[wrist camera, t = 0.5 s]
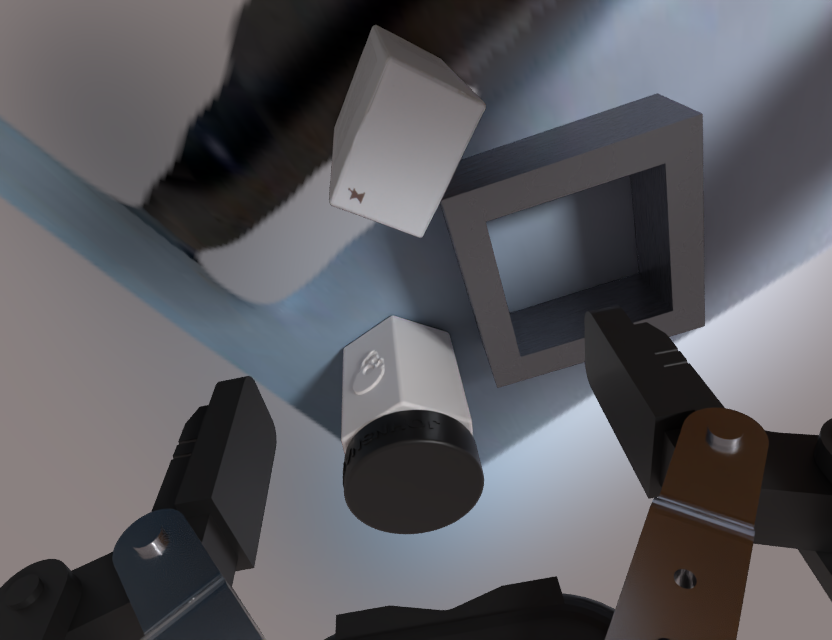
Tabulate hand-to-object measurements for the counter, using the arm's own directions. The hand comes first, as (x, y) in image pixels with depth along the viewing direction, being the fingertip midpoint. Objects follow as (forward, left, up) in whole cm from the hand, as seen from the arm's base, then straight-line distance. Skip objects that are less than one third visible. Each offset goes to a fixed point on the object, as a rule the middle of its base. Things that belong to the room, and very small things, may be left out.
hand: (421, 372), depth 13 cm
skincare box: (-1, -2, -23) cm, 23 cm away
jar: (+4, +17, -23) cm, 29 cm away
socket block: (-9, +10, -23) cm, 26 cm away
